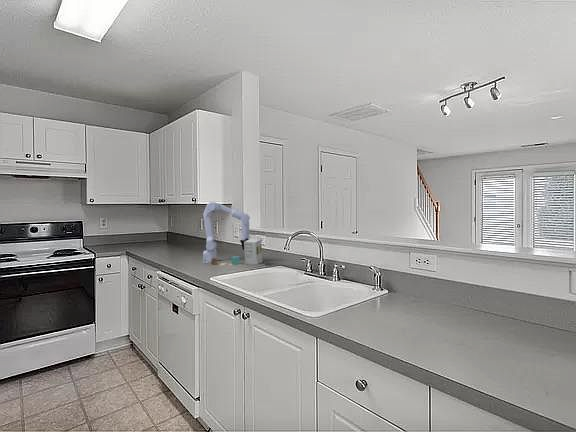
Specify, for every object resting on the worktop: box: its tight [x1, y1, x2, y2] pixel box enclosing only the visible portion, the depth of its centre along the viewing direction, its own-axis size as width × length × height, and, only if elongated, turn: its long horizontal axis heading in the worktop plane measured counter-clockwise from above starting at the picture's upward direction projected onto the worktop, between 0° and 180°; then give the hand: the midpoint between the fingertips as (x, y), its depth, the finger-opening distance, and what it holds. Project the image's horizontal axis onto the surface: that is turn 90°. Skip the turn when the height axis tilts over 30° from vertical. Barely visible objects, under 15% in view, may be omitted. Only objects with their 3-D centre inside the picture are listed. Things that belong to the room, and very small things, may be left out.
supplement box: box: [244, 238, 263, 265], centre depth 239 cm, size 10×9×17 cm
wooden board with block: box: [210, 257, 242, 266], centre depth 233 cm, size 20×8×5 cm, turn 96°
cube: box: [231, 255, 240, 266], centre depth 234 cm, size 5×5×5 cm
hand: (245, 249), depth 248 cm, fingers open, 7 cm apart
